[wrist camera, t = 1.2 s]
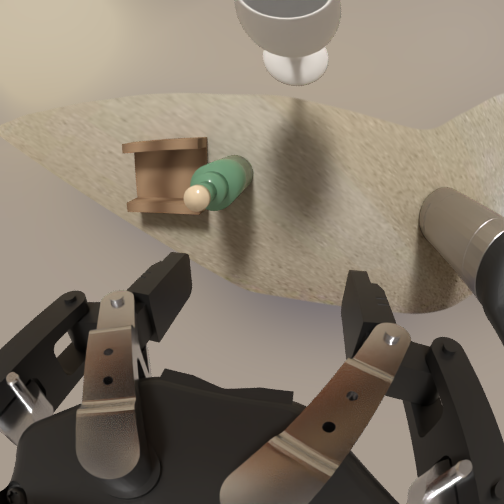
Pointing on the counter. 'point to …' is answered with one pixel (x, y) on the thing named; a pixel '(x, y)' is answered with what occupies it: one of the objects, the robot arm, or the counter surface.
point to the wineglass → (291, 35)
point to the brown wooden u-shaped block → (165, 173)
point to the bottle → (218, 184)
